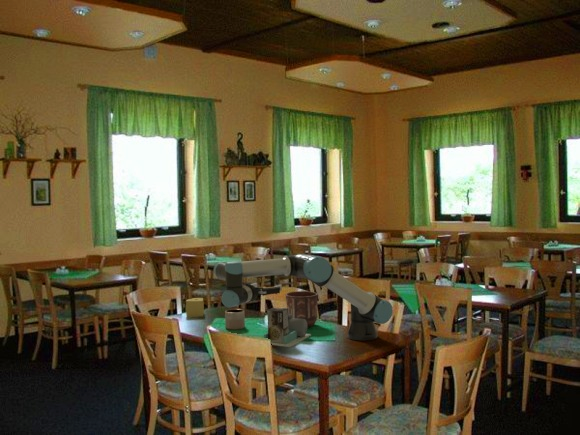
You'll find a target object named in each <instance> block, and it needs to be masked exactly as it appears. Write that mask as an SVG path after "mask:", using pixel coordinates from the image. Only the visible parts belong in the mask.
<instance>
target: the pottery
mask: <svg viewBox="0 0 580 435" xmlns="http://www.w3.org/2000/svg"><path fill="white" fill-rule="evenodd" d="M318 296H319V295H318V293H317V292H314V291H306V290H305V291H304V290H301V291H300V290H299V291H297V290H296V291H289V292H287V293H286V294H285V302H286V309H288V314H292V318H298V319H305V320H306V321H307V329H308V327H309V328H312V327H313V326H314V325H315V324H316V322H317V319H318Z"/></svg>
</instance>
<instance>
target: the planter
mask: <svg viewBox="0 0 580 435" xmlns="http://www.w3.org/2000/svg"><path fill="white" fill-rule="evenodd" d="M224 313H225V314H224V319H225V323H224V326H225V327H224V328H225V329H227V330H230V331H231V330H232V331H236V330H242V329H244V328H246V321H245V320H246V318H245V309H243V308H228V309H226V310H224Z"/></svg>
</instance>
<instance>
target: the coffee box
mask: <svg viewBox="0 0 580 435" xmlns="http://www.w3.org/2000/svg"><path fill="white" fill-rule="evenodd" d="M266 312H267V314H266V315H267V332H268V339H270V340H271V342H277V343H284V341H283V336H285V335H287V334H289V317H288V309H287V308H283V307H282V308H281V307H272V308H269V309H267V310H266Z"/></svg>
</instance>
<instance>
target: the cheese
mask: <svg viewBox="0 0 580 435" xmlns="http://www.w3.org/2000/svg"><path fill="white" fill-rule="evenodd" d="M204 313H205V304H204V298H203V297H192V298H188V299H186V301H185V314H186V318H197V317H199V318H201V317H202V318H203V317H204Z"/></svg>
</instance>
